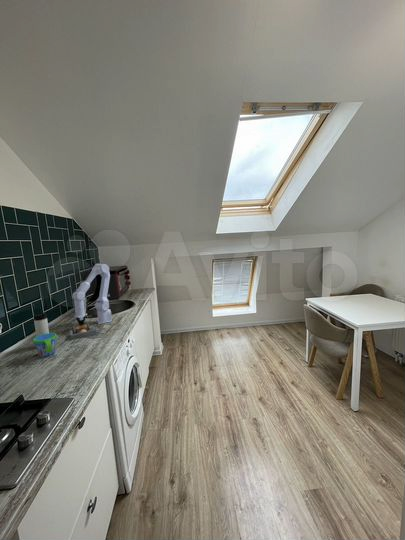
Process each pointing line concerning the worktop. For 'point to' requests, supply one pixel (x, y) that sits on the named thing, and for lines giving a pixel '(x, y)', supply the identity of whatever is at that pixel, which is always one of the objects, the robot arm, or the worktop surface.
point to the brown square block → (82, 328)
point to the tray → (83, 334)
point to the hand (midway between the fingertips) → (81, 327)
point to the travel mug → (41, 324)
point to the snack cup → (45, 344)
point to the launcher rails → (75, 329)
